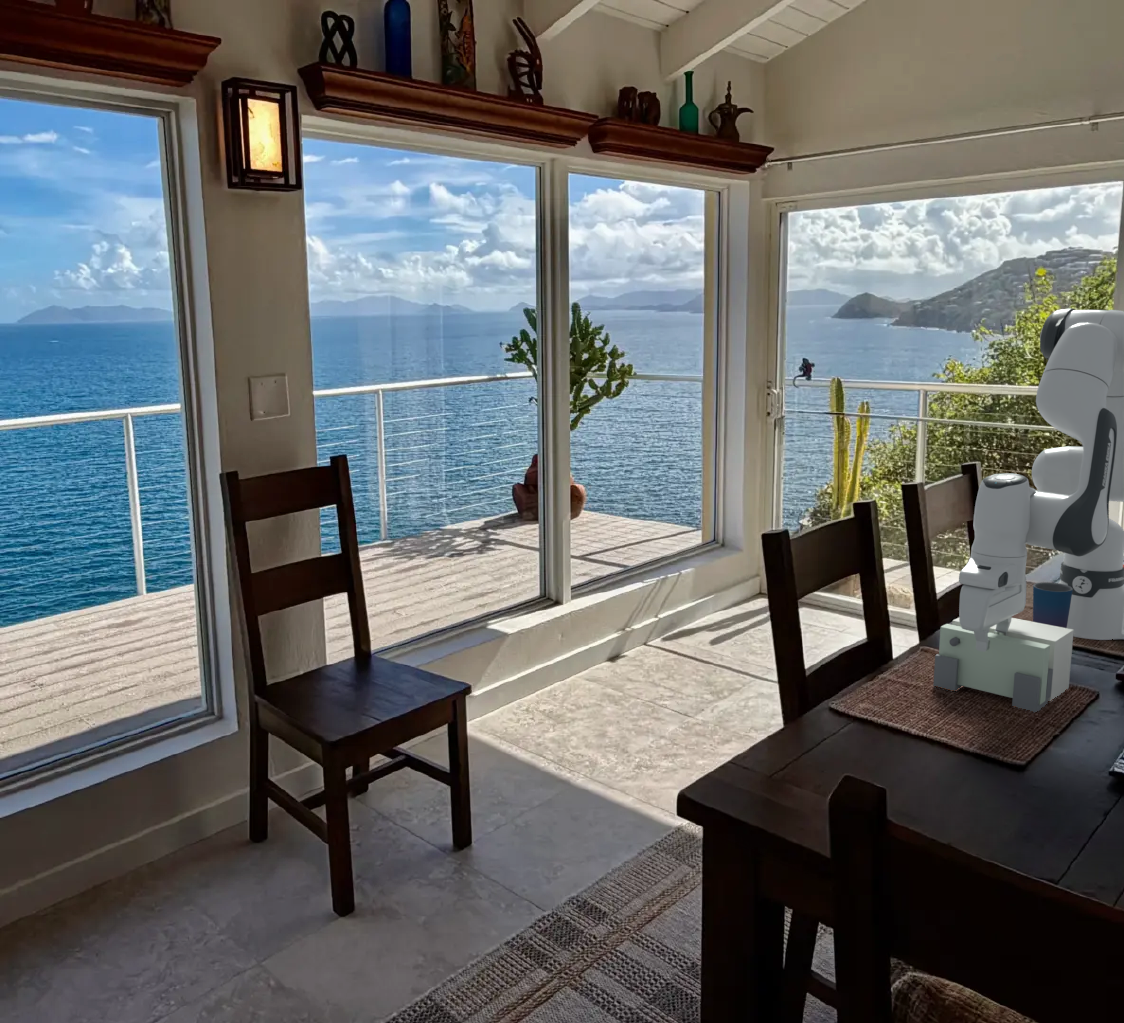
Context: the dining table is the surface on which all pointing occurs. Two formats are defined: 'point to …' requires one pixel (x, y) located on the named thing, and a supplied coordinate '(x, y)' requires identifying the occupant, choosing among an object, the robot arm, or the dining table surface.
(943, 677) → the cabinet
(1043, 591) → the cup
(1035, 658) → the door
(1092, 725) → the dining table surface
